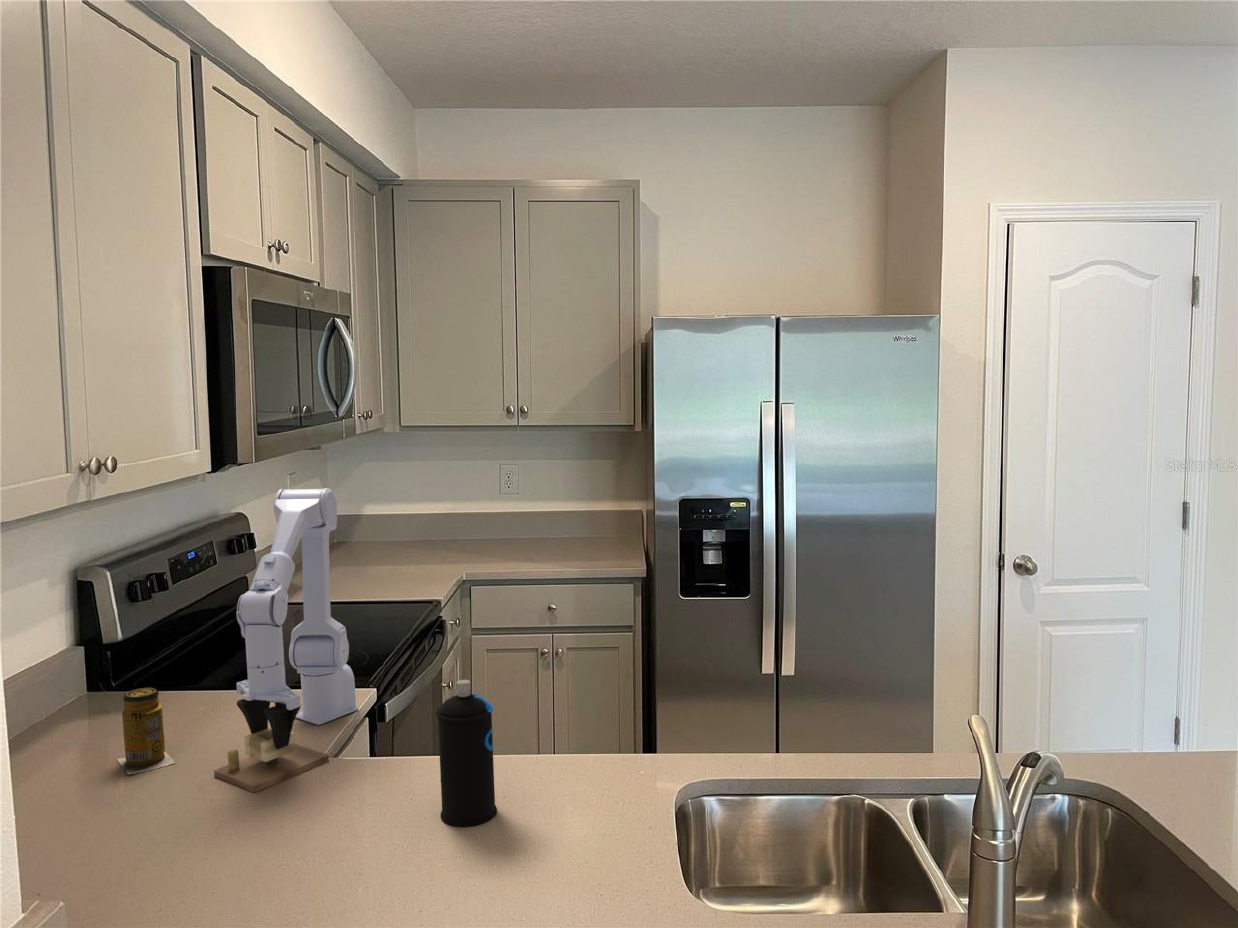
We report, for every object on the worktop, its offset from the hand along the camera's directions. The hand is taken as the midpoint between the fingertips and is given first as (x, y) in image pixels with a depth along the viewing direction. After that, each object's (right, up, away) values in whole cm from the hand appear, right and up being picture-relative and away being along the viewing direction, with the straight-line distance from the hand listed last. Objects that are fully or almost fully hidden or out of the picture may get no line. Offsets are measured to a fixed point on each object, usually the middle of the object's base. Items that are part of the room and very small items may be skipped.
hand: (270, 742), depth 155 cm
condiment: (-23, -5, +4) cm, 24 cm away
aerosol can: (+35, -6, -17) cm, 40 cm away
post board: (0, -4, 0) cm, 4 cm away
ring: (0, -2, 0) cm, 2 cm away
